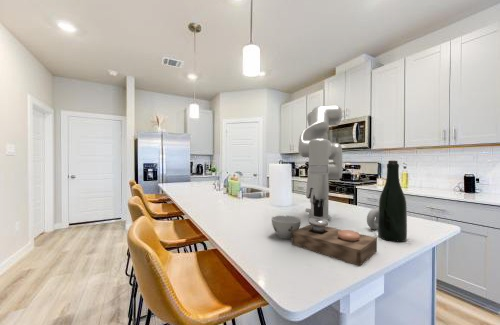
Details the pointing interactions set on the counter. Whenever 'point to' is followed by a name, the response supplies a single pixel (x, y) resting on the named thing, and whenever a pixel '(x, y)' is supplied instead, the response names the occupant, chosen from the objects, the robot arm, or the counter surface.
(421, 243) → the counter surface
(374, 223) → the donut
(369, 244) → the block
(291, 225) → the teacup
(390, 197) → the dark green wine bottle
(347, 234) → the button
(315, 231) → the button
